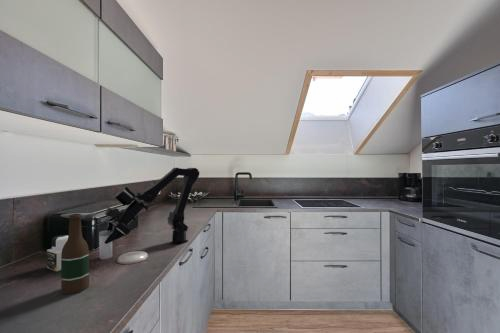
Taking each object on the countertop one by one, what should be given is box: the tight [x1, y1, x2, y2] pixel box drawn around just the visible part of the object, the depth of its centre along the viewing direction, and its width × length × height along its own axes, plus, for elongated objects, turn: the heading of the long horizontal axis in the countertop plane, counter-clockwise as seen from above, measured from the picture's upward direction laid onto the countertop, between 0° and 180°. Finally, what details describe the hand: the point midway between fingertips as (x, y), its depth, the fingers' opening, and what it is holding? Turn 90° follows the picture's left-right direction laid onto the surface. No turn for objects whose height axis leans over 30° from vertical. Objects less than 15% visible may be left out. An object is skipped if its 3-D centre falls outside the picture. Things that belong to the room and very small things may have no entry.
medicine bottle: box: [46, 234, 69, 272], centre depth 98 cm, size 7×7×12 cm
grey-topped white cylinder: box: [98, 229, 113, 260], centre depth 108 cm, size 5×5×11 cm
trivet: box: [116, 250, 149, 265], centre depth 106 cm, size 12×12×1 cm
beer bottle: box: [60, 213, 90, 296], centre depth 80 cm, size 8×8×24 cm
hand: (103, 240), depth 107 cm, fingers open, 9 cm apart
